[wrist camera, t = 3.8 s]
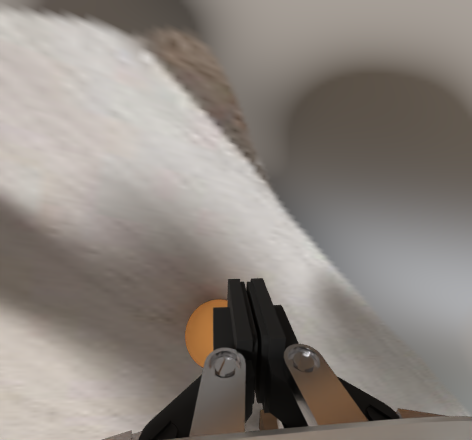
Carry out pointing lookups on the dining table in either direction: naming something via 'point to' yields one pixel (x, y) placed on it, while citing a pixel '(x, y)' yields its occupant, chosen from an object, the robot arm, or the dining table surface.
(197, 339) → the ball
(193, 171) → the dining table surface
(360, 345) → the dining table surface
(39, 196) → the dining table surface
